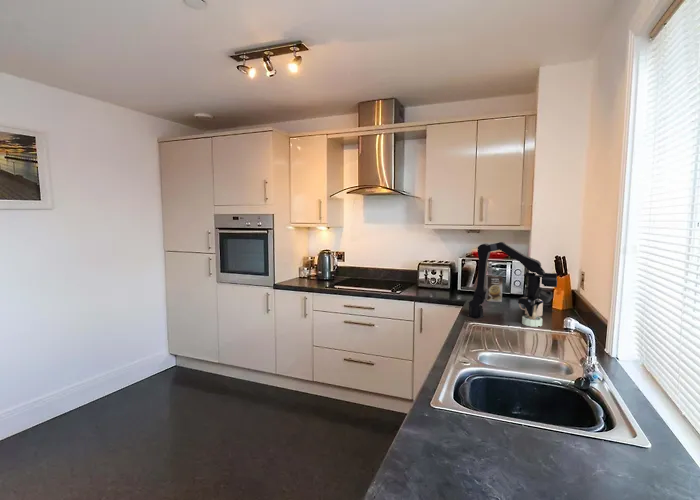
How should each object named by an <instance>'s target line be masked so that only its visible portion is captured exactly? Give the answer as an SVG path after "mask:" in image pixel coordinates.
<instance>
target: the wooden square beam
mask: <svg viewBox="0 0 700 500" xmlns="http://www.w3.org/2000/svg"><path fill="white" fill-rule="evenodd" d="M529 319H533V320H535V319H536V306H534V310H533V315H532V317H531V316H529Z"/></svg>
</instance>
